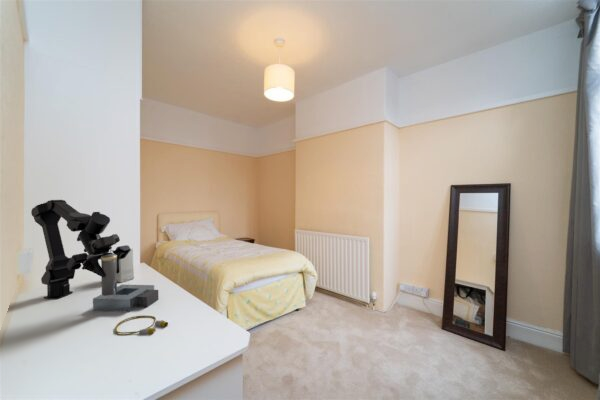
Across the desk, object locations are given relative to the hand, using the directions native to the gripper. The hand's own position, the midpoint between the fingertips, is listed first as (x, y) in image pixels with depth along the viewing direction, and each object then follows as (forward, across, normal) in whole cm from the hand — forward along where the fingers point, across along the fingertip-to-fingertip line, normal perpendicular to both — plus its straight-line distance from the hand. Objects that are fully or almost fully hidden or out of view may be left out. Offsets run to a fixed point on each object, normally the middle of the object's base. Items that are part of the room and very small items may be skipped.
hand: (111, 274), depth 90 cm
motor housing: (+9, +7, +10) cm, 15 cm away
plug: (+4, 0, +6) cm, 7 cm away
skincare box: (-12, +23, +31) cm, 40 cm away
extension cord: (+24, -3, -4) cm, 25 cm away
